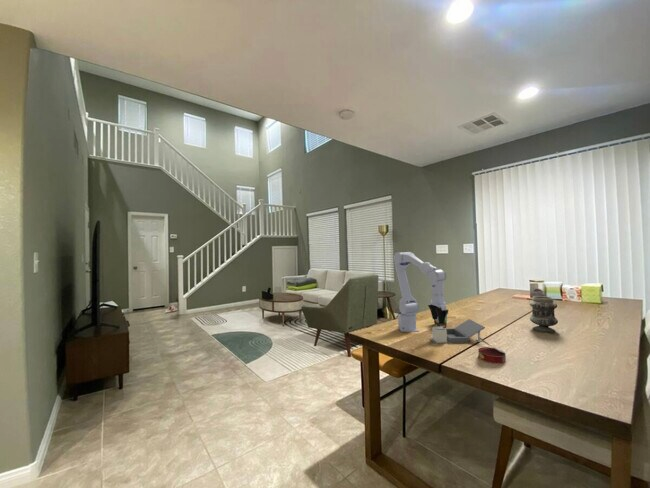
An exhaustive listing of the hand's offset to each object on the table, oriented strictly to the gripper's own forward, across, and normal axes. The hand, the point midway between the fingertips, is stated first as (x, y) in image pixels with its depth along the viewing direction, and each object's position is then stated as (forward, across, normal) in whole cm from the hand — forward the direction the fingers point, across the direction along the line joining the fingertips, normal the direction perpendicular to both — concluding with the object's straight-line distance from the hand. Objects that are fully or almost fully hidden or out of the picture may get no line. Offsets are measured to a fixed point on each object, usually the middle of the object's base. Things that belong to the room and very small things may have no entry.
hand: (438, 321), depth 138 cm
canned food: (+10, -21, -14) cm, 27 cm away
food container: (+10, +24, -12) cm, 28 cm away
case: (+10, +4, -13) cm, 17 cm away
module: (+10, 0, 0) cm, 10 cm away
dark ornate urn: (+10, +12, -62) cm, 64 cm away
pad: (+10, 0, 0) cm, 10 cm away
